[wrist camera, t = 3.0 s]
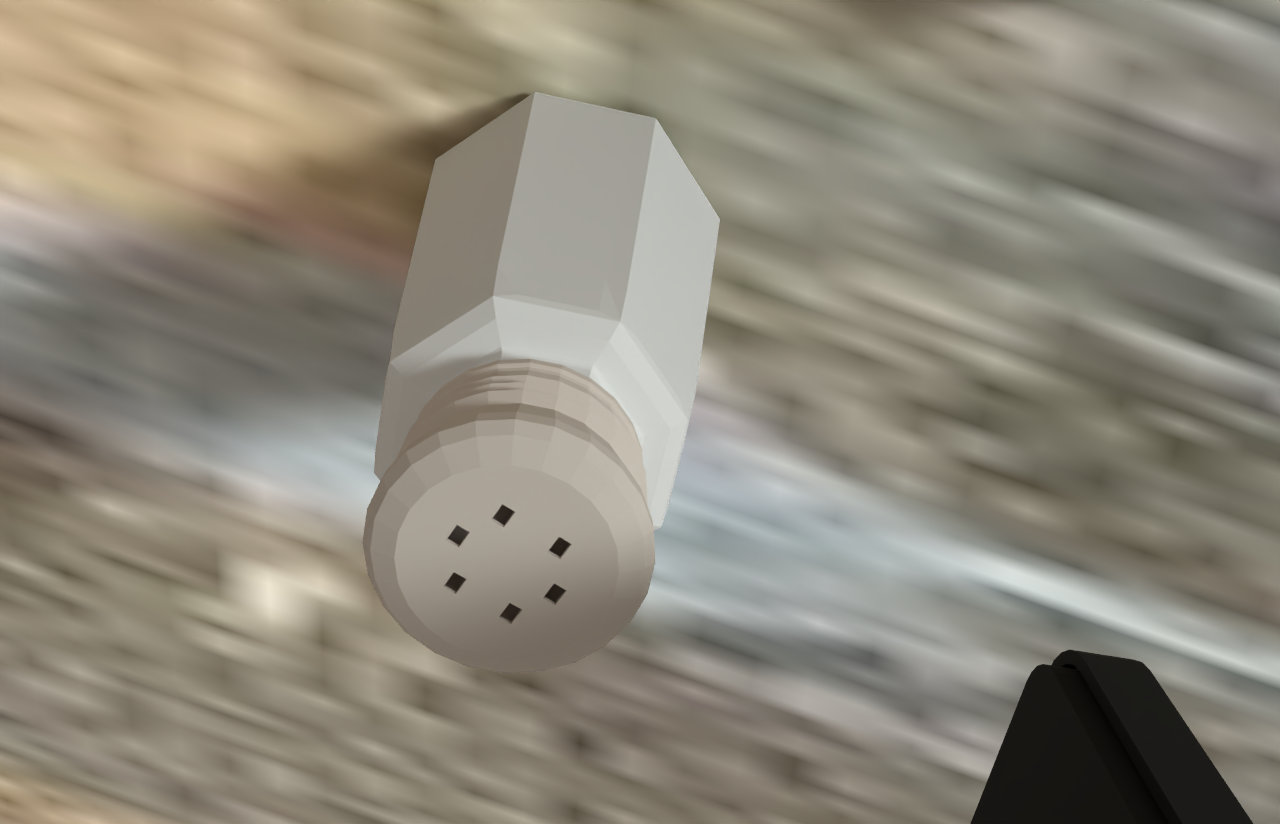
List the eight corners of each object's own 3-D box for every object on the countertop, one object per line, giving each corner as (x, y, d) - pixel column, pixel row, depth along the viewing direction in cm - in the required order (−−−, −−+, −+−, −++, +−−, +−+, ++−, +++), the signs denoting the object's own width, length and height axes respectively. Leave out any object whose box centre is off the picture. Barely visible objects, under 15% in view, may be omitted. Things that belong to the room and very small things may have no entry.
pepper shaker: (359, 281, 22) (120, 628, 12) (520, 22, 20) (402, 167, 10) (609, 436, 23) (586, 870, 13) (782, 205, 21) (913, 500, 11)
